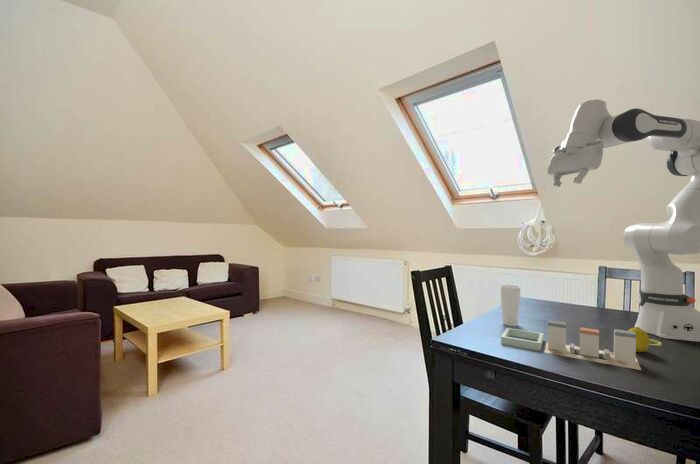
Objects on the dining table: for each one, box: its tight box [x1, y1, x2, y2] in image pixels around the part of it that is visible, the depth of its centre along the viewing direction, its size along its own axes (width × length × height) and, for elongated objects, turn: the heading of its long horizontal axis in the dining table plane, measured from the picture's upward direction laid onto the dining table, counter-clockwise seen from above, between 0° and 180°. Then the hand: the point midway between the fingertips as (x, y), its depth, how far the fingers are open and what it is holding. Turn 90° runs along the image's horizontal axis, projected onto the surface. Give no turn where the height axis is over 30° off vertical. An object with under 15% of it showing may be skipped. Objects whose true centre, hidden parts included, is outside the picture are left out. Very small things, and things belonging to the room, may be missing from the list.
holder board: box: [543, 341, 642, 371], centre depth 99 cm, size 22×11×1 cm, turn 56°
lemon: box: [627, 327, 651, 353], centre depth 101 cm, size 6×6×8 cm
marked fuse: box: [579, 326, 600, 359], centre depth 99 cm, size 4×3×8 cm, turn 56°
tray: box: [500, 327, 545, 351], centre depth 110 cm, size 11×11×3 cm
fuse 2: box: [613, 328, 637, 364], centre depth 94 cm, size 4×3×8 cm, turn 56°
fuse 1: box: [547, 319, 567, 352], centre depth 103 cm, size 4×3×8 cm, turn 56°
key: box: [645, 331, 663, 347], centre depth 113 cm, size 7×12×2 cm, turn 162°
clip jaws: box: [569, 342, 611, 360], centre depth 99 cm, size 9×4×2 cm, turn 56°
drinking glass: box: [500, 284, 521, 327], centre depth 129 cm, size 7×7×15 cm
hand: (566, 184), depth 116 cm, fingers open, 8 cm apart
